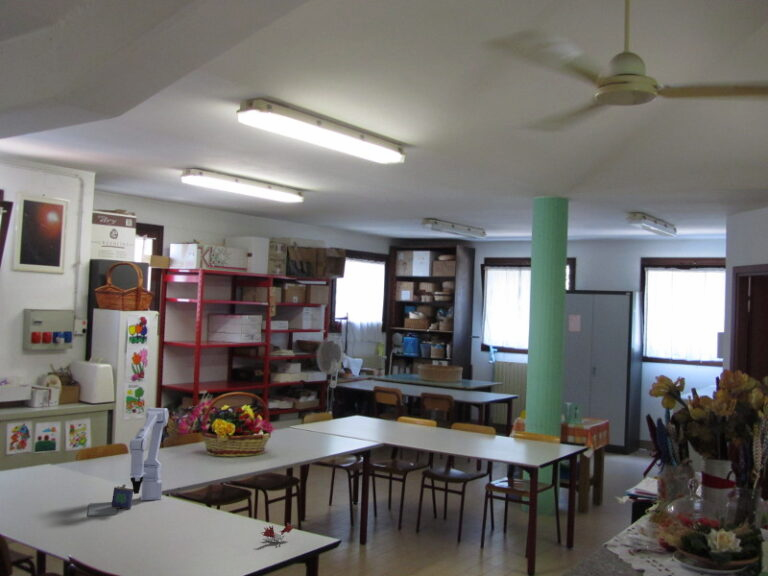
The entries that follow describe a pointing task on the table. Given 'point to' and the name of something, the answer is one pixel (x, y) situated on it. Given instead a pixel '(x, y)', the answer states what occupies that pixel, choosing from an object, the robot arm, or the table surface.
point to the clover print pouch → (122, 497)
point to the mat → (101, 509)
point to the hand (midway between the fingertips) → (136, 493)
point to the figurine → (276, 533)
